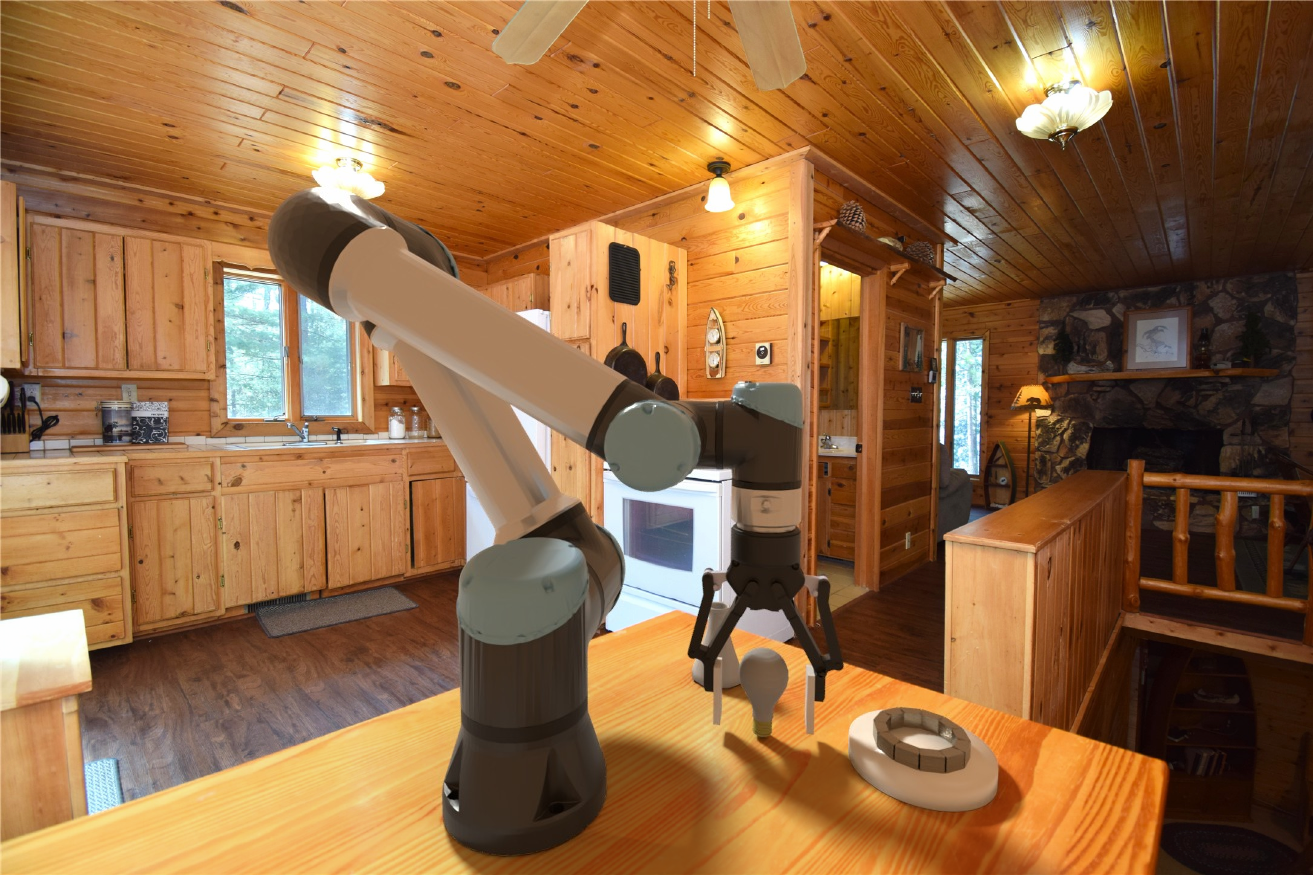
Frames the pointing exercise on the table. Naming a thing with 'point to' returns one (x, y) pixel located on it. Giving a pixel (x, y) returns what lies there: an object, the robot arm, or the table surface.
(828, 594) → the robot arm
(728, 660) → the flask
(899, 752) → the socket collar
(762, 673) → the light bulb
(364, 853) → the table surface
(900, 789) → the socket base
